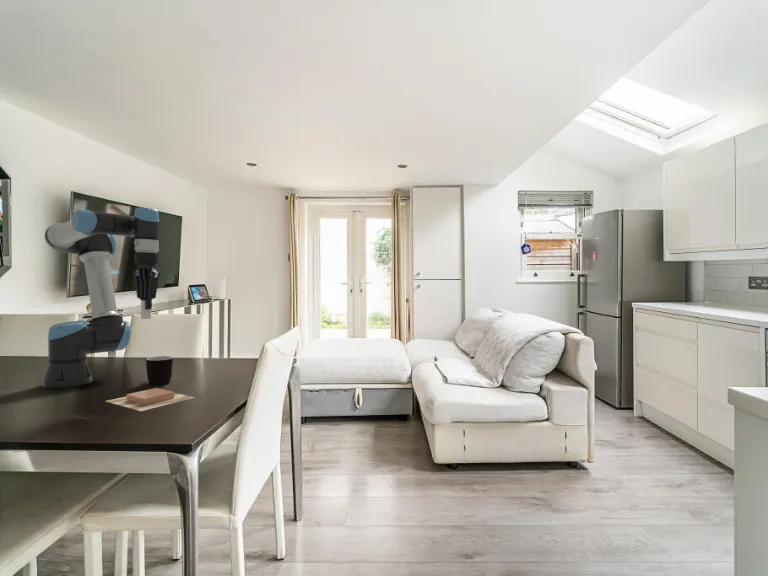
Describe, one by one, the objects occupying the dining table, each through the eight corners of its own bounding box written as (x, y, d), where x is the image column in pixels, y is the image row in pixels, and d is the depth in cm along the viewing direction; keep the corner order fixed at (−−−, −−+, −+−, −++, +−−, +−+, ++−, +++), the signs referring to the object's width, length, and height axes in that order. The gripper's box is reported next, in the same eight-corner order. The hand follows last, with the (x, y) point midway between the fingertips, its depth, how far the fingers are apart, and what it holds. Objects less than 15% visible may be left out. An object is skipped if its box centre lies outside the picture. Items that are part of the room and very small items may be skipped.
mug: (176, 384, 161) (176, 358, 161) (151, 388, 155) (151, 361, 155) (164, 379, 170) (164, 354, 170) (139, 383, 163) (140, 356, 163)
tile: (126, 394, 137) (144, 398, 132) (156, 387, 146) (174, 391, 141) (126, 400, 137) (144, 405, 132) (156, 393, 146) (174, 398, 141)
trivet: (104, 403, 136) (104, 401, 136) (158, 391, 152) (158, 389, 152) (140, 413, 126) (140, 411, 126) (194, 399, 142) (194, 397, 142)
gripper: (125, 251, 151) (125, 318, 152) (146, 251, 145) (146, 320, 145) (146, 253, 158) (146, 316, 158) (167, 252, 151) (167, 319, 152)
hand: (146, 318), depth 152 cm, fingers closed
